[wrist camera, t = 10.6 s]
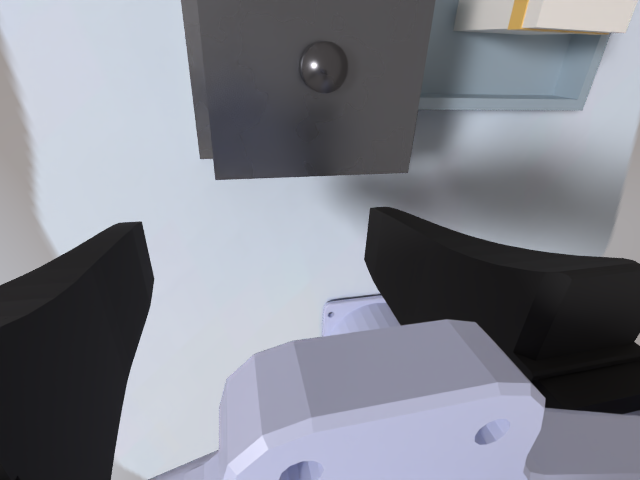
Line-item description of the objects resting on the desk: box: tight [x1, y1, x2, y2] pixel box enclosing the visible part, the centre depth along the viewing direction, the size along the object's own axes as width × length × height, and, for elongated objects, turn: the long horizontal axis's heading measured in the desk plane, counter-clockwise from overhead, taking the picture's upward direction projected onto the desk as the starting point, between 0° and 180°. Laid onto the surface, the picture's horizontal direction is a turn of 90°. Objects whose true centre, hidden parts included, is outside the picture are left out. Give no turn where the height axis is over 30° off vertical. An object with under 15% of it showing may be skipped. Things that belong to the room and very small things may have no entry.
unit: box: [181, 0, 436, 180], centre depth 15 cm, size 10×10×8 cm
